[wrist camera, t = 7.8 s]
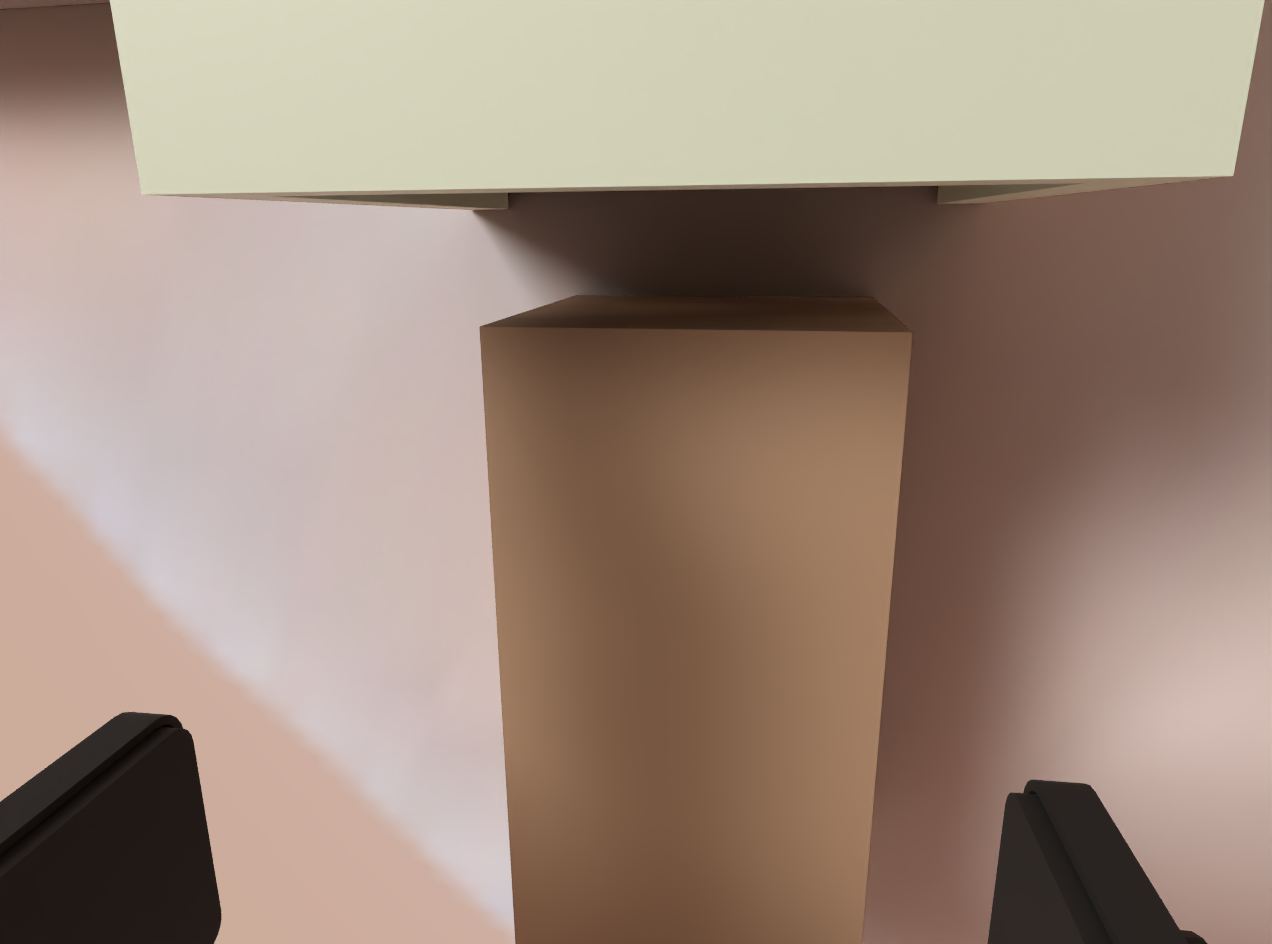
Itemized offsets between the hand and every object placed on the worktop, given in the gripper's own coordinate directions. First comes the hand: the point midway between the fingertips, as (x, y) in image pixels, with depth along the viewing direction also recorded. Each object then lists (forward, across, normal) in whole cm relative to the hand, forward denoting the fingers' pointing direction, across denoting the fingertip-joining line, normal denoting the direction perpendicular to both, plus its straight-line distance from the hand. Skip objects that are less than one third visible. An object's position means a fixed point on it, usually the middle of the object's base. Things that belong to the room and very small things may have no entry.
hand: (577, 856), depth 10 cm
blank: (+7, -1, -1) cm, 7 cm away
